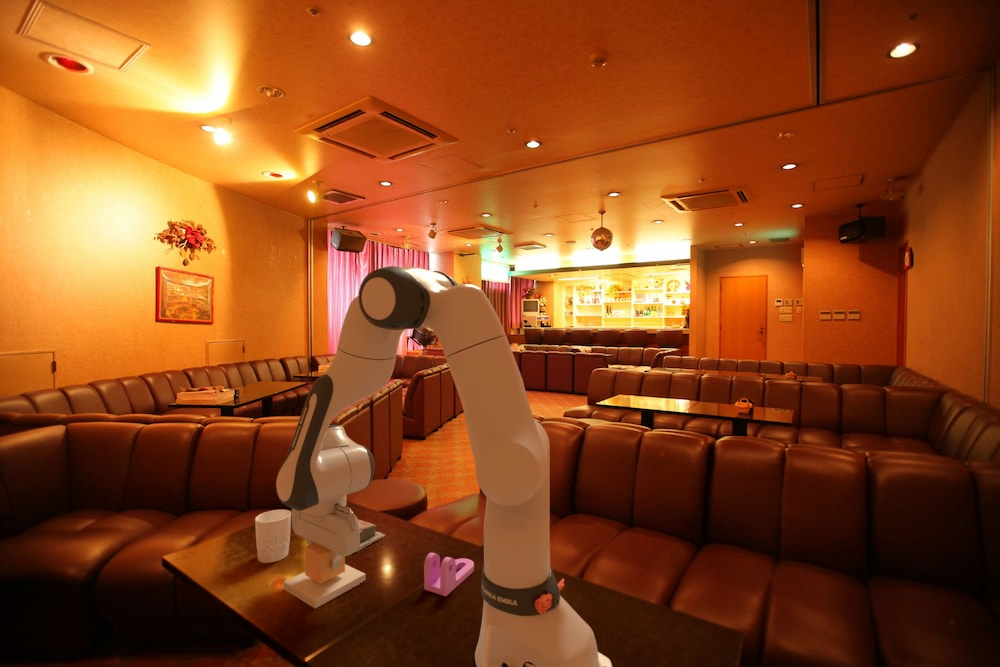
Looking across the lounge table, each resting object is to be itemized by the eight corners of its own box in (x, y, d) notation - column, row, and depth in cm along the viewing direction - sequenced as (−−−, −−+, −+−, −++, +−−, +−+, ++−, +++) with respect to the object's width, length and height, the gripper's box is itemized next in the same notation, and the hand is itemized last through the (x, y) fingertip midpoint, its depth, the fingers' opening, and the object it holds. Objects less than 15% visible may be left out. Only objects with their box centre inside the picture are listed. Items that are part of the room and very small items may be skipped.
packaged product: (311, 520, 117) (341, 508, 126) (311, 538, 117) (341, 525, 125) (356, 535, 108) (386, 520, 116) (356, 554, 108) (386, 538, 116)
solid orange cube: (345, 571, 94) (344, 543, 94) (320, 583, 90) (320, 554, 90) (329, 563, 98) (329, 537, 98) (305, 575, 93) (305, 547, 93)
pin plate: (365, 580, 95) (365, 555, 95) (315, 608, 85) (315, 580, 85) (333, 564, 102) (333, 541, 102) (283, 588, 92) (283, 562, 92)
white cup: (266, 567, 101) (266, 525, 101) (248, 559, 105) (248, 518, 105) (297, 553, 108) (297, 513, 108) (279, 546, 112) (279, 507, 112)
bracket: (445, 597, 89) (445, 563, 89) (424, 590, 92) (424, 557, 92) (478, 567, 100) (478, 537, 101) (458, 562, 103) (458, 532, 103)
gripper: (367, 505, 90) (367, 571, 90) (312, 486, 102) (312, 545, 102) (341, 515, 85) (341, 585, 85) (286, 494, 97) (286, 556, 97)
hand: (325, 563), depth 94 cm, fingers closed on solid orange cube, 6 cm apart
